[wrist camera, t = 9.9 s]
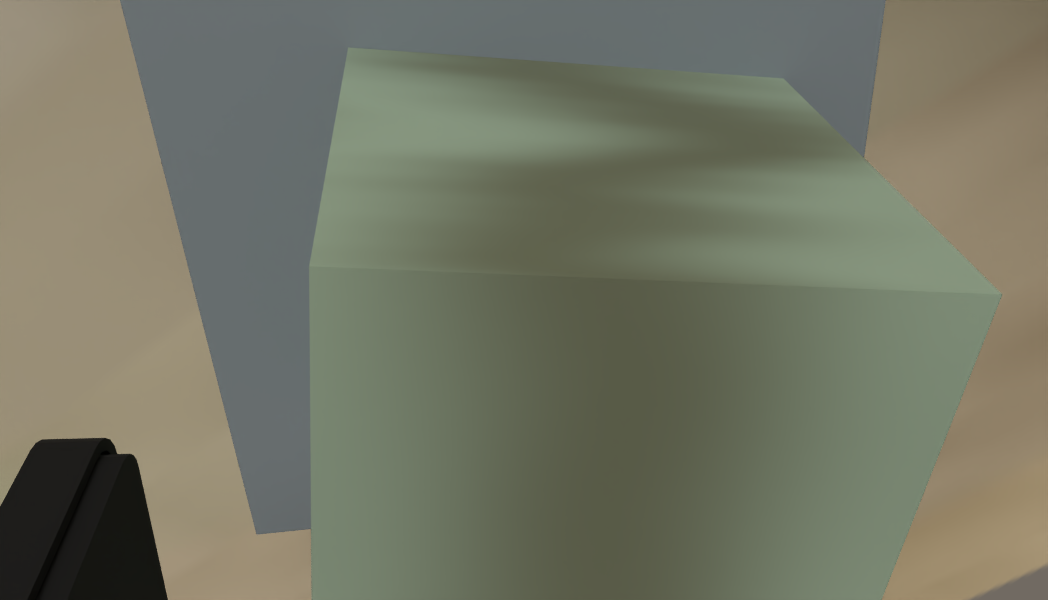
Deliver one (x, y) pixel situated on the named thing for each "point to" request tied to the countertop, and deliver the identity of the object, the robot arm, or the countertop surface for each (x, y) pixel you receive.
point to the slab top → (307, 127)
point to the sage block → (618, 339)
